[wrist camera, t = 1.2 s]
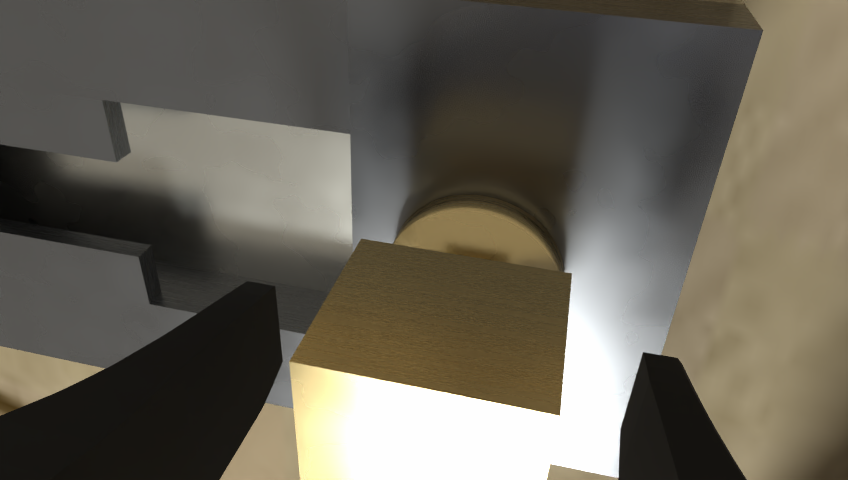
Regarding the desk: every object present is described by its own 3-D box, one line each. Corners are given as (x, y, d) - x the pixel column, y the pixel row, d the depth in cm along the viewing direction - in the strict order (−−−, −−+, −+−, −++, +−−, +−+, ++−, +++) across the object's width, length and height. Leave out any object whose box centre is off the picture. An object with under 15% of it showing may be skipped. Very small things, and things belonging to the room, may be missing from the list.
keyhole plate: (738, -5, 14) (763, 30, 12) (620, 406, 20) (621, 478, 18) (-118, -84, 17) (-225, -68, 15) (17, 287, 24) (-44, 336, 22)
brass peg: (577, 209, 14) (560, 415, 9) (550, 350, 16) (524, 578, 11) (394, 181, 15) (289, 361, 10) (391, 321, 17) (304, 524, 12)
